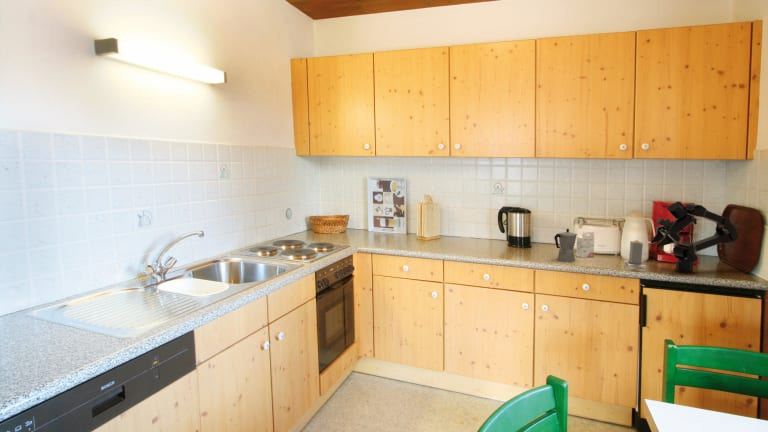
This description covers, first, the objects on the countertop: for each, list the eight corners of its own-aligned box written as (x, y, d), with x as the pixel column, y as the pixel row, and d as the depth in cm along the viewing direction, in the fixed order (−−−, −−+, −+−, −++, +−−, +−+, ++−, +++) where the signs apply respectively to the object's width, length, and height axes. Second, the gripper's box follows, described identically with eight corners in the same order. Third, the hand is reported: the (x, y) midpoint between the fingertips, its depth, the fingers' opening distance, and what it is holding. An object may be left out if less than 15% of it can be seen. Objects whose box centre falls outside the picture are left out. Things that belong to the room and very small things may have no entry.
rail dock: (640, 267, 236) (641, 261, 236) (645, 271, 227) (646, 265, 227) (623, 266, 239) (624, 260, 238) (628, 270, 230) (628, 264, 229)
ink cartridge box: (587, 255, 266) (589, 230, 264) (593, 256, 261) (595, 232, 259) (575, 255, 263) (576, 231, 262) (581, 257, 259) (582, 232, 257)
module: (638, 265, 235) (640, 239, 233) (640, 268, 230) (642, 241, 228) (628, 265, 236) (630, 239, 234) (631, 267, 231) (633, 241, 229)
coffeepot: (569, 257, 259) (571, 226, 257) (581, 261, 251) (583, 229, 248) (547, 259, 254) (549, 228, 252) (559, 263, 245) (561, 231, 243)
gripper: (661, 210, 234) (637, 230, 239) (675, 214, 216) (648, 236, 221) (677, 225, 233) (652, 245, 238) (692, 231, 216) (664, 252, 220)
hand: (654, 244), depth 229 cm, fingers open, 9 cm apart
